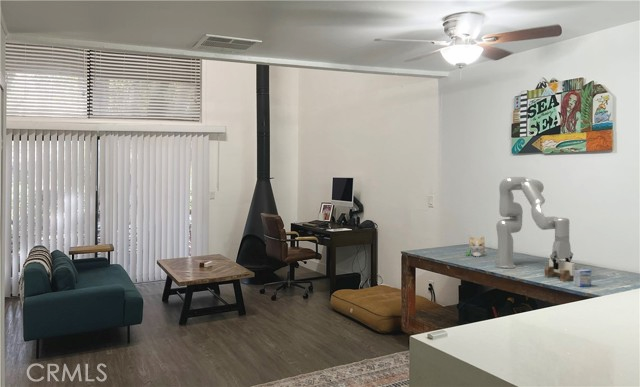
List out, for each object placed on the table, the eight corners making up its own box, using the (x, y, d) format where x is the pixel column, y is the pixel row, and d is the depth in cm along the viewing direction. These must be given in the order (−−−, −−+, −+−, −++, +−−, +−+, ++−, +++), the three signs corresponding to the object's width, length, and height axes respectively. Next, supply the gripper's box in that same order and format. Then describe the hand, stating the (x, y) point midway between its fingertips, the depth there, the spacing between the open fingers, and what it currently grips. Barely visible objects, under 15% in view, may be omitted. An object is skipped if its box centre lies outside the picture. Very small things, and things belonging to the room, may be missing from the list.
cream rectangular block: (549, 270, 283) (549, 259, 282) (551, 270, 283) (551, 258, 283) (572, 275, 268) (572, 263, 267) (574, 275, 268) (574, 263, 268)
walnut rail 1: (547, 277, 277) (548, 267, 277) (544, 276, 280) (544, 266, 279) (563, 275, 282) (563, 265, 281) (559, 275, 284) (559, 265, 284)
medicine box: (579, 287, 254) (579, 271, 253) (573, 285, 258) (573, 269, 258) (591, 286, 256) (591, 270, 256) (584, 284, 260) (585, 268, 260)
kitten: (465, 257, 349) (465, 237, 349) (465, 254, 359) (465, 235, 358) (487, 257, 345) (487, 237, 344) (486, 255, 354) (486, 235, 353)
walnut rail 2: (563, 281, 267) (563, 271, 267) (560, 280, 269) (560, 270, 269) (579, 279, 271) (579, 269, 271) (575, 278, 274) (575, 268, 273)
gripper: (567, 237, 281) (567, 266, 282) (545, 239, 275) (545, 268, 276) (578, 238, 274) (578, 268, 275) (556, 240, 268) (555, 271, 269)
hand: (561, 268), depth 275 cm, fingers open, 8 cm apart
